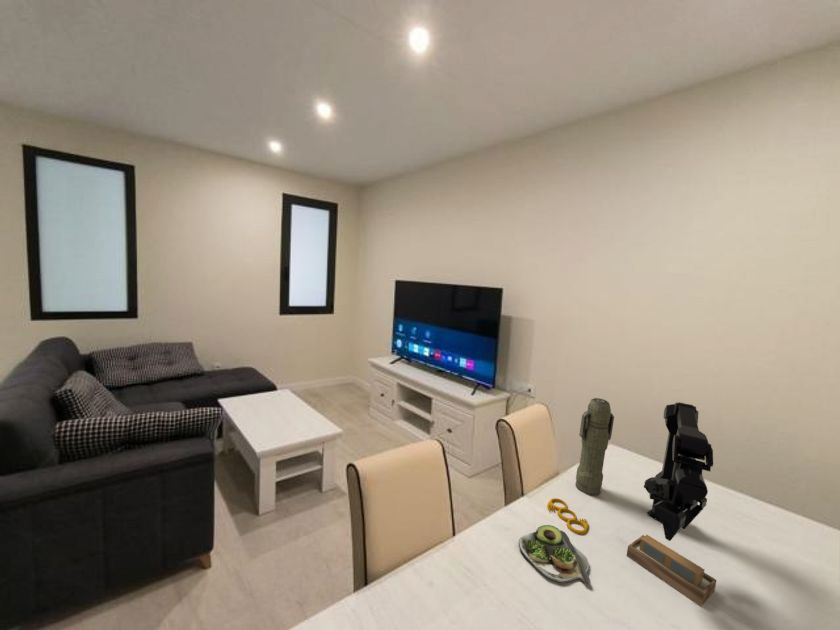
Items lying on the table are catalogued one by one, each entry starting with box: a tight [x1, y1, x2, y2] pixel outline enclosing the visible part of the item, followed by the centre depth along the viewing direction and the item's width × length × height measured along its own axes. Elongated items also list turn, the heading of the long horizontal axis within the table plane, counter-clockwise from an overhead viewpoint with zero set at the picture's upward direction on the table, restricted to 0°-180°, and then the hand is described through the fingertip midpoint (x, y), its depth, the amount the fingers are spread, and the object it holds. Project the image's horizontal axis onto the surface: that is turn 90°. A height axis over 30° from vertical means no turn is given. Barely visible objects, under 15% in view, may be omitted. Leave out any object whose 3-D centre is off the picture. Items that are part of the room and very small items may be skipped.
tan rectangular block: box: [639, 534, 705, 587], centre depth 97 cm, size 4×14×4 cm, turn 34°
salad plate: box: [518, 524, 591, 584], centre depth 99 cm, size 19×18×5 cm
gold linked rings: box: [546, 497, 589, 536], centre depth 118 cm, size 17×2×10 cm
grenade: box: [575, 397, 615, 496], centre depth 133 cm, size 9×12×35 cm
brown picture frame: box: [626, 534, 718, 607], centre depth 98 cm, size 9×18×3 cm, turn 34°
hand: (675, 533), depth 96 cm, fingers open, 9 cm apart
